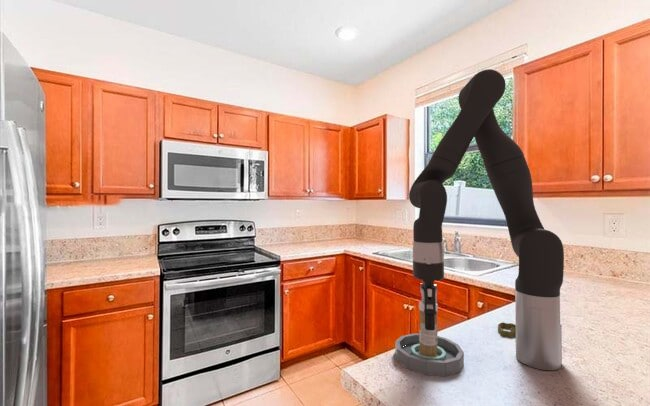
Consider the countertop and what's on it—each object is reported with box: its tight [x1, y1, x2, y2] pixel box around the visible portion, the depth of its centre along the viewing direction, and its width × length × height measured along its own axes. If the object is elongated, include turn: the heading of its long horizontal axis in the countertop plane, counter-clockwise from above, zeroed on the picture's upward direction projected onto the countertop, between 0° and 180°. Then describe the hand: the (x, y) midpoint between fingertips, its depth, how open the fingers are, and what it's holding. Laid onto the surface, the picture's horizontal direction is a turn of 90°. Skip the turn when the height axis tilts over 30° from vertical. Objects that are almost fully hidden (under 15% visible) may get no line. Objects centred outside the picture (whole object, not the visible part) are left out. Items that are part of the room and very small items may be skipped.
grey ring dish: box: [394, 333, 465, 377], centre depth 78 cm, size 16×16×3 cm
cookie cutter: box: [497, 321, 516, 338], centre depth 95 cm, size 18×12×2 cm, turn 123°
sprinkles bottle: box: [418, 300, 439, 357], centre depth 78 cm, size 5×5×14 cm
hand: (429, 323), depth 78 cm, fingers open, 8 cm apart
